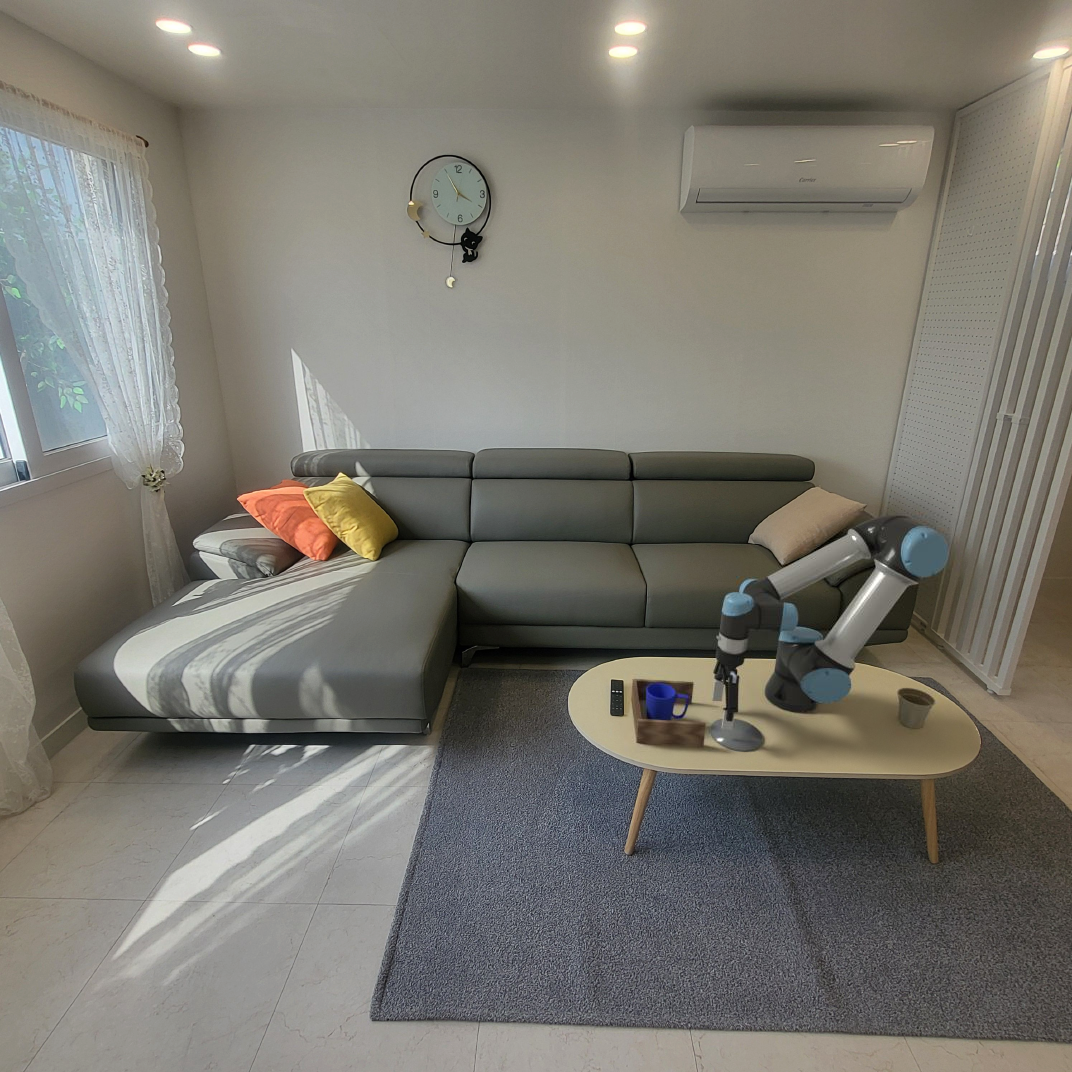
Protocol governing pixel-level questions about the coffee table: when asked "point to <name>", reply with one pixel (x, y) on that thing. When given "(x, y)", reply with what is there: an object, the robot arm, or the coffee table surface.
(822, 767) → the coffee table surface
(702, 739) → the u-shaped wooden frame
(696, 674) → the coffee table surface
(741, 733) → the grey round disc
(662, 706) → the mug
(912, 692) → the flower pot
